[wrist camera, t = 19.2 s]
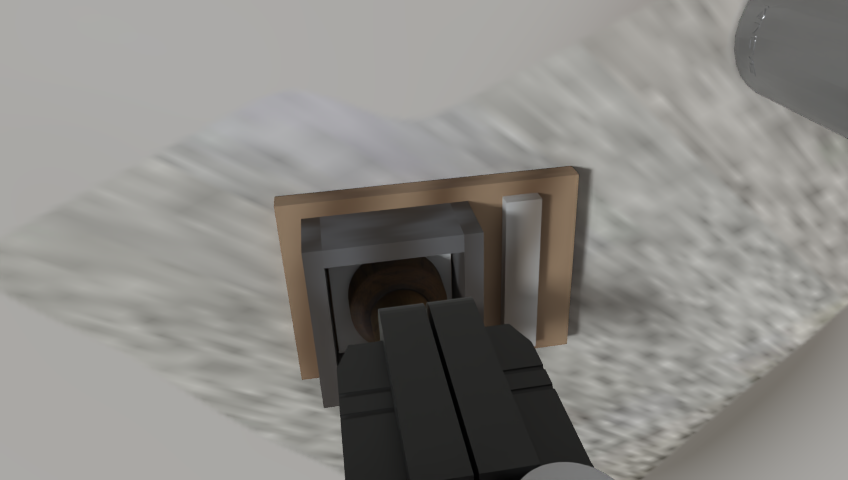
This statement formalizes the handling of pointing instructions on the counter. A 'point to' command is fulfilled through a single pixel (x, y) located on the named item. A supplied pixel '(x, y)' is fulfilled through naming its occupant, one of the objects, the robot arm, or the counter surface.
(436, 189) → the socket board
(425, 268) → the brown wooden chess pawn
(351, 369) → the robot arm
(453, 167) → the counter surface
